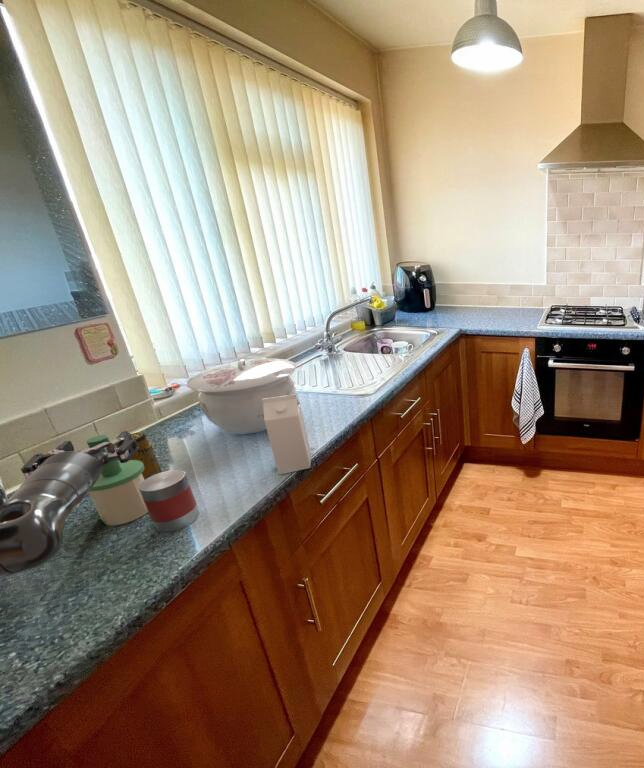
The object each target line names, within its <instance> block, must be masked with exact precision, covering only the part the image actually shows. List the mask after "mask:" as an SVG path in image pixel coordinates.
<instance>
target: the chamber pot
mask: <svg viewBox="0 0 644 768" xmlns="http://www.w3.org/2000/svg"><path fill="white" fill-rule="evenodd" d="M296 369H297V365H296V363H295V362H294V361H291V360H289V359H284V358H283V359H282V358H273V357H272V358H271V357H269V358H268V357H262V358H252V359H243V358H242V359H239V360H238V361H232V362H227V363H223V364H219V365H217V366H214V367H211V368H208V369H205V370H202V371H200V372H199V373H196V374H194V375H193V376H191V377H190V378H189V379H188V380H187V381H186V388H188V389H190V390H192V391H194V392H199V394H198V403H199V406H200V409H201V411H202V412H203V414H204V415H205V417H206V419H207V420H208V421H209V422H211V423H212V424H214V425H215V426H216V427H217V428H219V429H220V430H222V431H224V432H226V433H228V434H232V435H233V434H234V435H248V434H256V433H260V432H264V431H267V428H266V425H265V421H264V407H263V400H262V399H265V398H272V397H279V396H286V395H293V394H296V395H297V387H296V381H295V380H294V378H293V377H292V376H291V375H292V374H293V373H294V372H296Z"/></svg>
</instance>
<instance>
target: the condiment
mask: <svg viewBox="0 0 644 768" xmlns="http://www.w3.org/2000/svg"><path fill="white" fill-rule="evenodd" d="M130 434H131V437H135V440H136V442H137V445H138V447H139V449H138V450H137V451H136V453H135V454H134V455H133V456H132V457H131V459H130V460H137V461H141V462H142V463H143V465H144V471H143V472H142V475H143V478H144V480H145V479H147V478H149V477H151V476H153V475H155V474H158V473H161V472H163V471H162V469H161V466H160V463H159V460H158V458H157V455H156V453H155V451H154V450H155V449H154V447H153V445H152V443H150V442H149V439H148V438H147V435H146V434H145V433H143V432H132V433H130ZM115 446H116V448H119V447H118V445H115Z"/></svg>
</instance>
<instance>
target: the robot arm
mask: <svg viewBox="0 0 644 768" xmlns="http://www.w3.org/2000/svg"><path fill="white" fill-rule="evenodd" d="M131 434H132V433H131V432H128V430H123V431H121V432H120V433H119V434H118V436H117V437H116V438H115V439H114V440H112V441H110V442H103V443H101V444H99V445H97V446H95V447H92V448H89V447H87V448H85V449H83V450H75V447H74V445H73V443H72V440H66V441H65V440H64V441H63V442H62V443H61V444H60V445H58V446H57V447H56V448H55V449H51V450H49V451H48V452H47V453H45V454H43V453H42V452H41V453H36V454H33V455H32V456H31V457H30V459H28V460H27V461H26V463H25V464H24V465H22V467H21V468H20V471H21V473H22V475H23V477H24V481H23V482H22V483H21V485H20V486H19V487H18V489H17V490H16V491H15V492H14V493H13V494H12V495H10V497H9V498H8V495H7V492H6V491H5V489H4V487H3V486H2V485H1V484H0V579H1V578H4V577H7V576H11V575H15V574H18V573H21V572H22V573H23V572H25V571H28V570H31V569H35V568H37V567H39V566H42V565H43V564H45V563H47V562H49V560H51V559H52V558H53V557H54V556H56V554H57V553H58V552H59V551H60V550H61V547H62V543H63V534H64V528H65V524H66V520H67V518H68V517H69V515H70V514H71V512H72V511H73V510H74V508H75V507H76V506H77V505H79V503H81V502H82V501H83V500H84V498H85V497H86V496H87V495H88V494H89V490H90V489H91V488H92V486H93V485H94V484H95V482H96V481H97V480H98V478H99V477H100V475H101V472H102V468H103V467H104V466H105V465H107V464H108V463H109V462H110V461H114V460H118V461H119V462H120V463H125V462H128V461H129V460H130V459H131V457H132V456H133V455H134V454H135V453H136V451H137V450H138V449H139V447H138V445H137V442H136V440H135V437H131ZM116 445H118V447H119V448H117V447H116V448H115V446H116ZM103 448H104V449H105V451H106V453H105V452H103V451H102V450H101V449H103Z"/></svg>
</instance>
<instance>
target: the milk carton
mask: <svg viewBox="0 0 644 768" xmlns="http://www.w3.org/2000/svg"><path fill="white" fill-rule="evenodd" d="M262 400H263V407H264V421H265V425H266V428H267V430H266V432H267V436H268V439H269V443H270V447H271V450H272V456H273V458H274V463H275V466H276V470H277V473H278V475H284V474H289V473H294V472H298V471H303V470H308V469H310V468H311V464H312V450H311V447H310V442H309V438H308V433H307V429H306V425H305V420H304V415H303V411H302V410H303V409H302V406H301V403H300V401H299V399H298V396H297V393H296V394H293V395H286V396H279V397H272V398H265V399H262Z"/></svg>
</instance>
